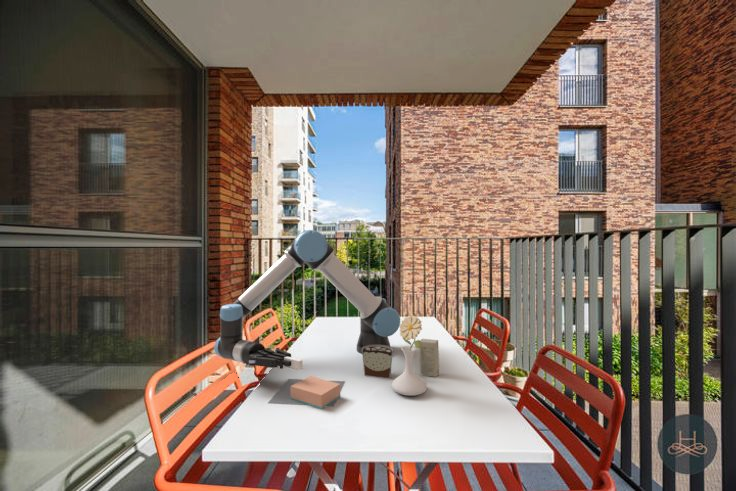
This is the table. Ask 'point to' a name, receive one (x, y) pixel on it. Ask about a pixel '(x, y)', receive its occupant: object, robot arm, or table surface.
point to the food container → (377, 360)
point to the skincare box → (429, 358)
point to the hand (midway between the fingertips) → (300, 364)
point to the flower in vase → (409, 360)
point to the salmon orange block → (315, 392)
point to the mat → (285, 393)
